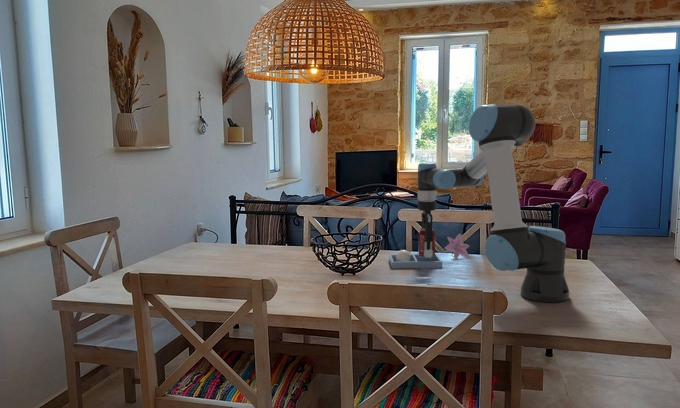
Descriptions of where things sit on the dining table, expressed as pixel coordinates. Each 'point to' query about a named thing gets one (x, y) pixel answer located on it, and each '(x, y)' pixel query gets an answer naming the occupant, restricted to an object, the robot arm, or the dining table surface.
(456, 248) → the lily
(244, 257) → the dining table surface
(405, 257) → the cream white ball
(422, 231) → the soda can
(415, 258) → the holder
